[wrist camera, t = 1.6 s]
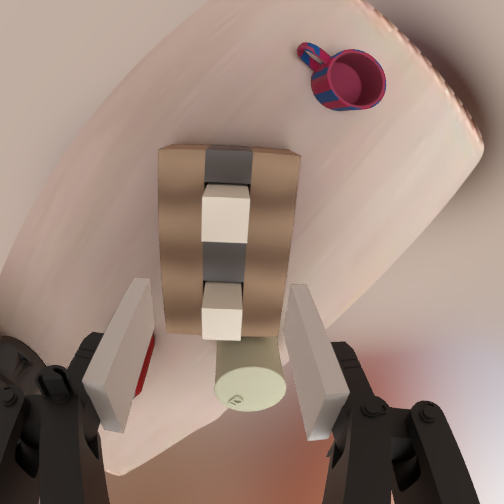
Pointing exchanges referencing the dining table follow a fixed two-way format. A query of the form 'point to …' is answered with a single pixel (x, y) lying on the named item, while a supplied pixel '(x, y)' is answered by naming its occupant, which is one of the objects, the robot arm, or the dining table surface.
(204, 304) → the peg
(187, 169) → the socket block
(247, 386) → the can
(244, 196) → the peg
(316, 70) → the mug
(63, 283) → the dining table surface
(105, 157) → the dining table surface
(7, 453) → the robot arm
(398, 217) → the dining table surface
